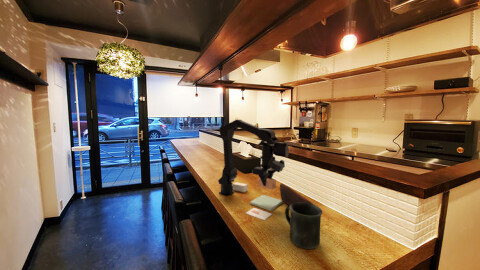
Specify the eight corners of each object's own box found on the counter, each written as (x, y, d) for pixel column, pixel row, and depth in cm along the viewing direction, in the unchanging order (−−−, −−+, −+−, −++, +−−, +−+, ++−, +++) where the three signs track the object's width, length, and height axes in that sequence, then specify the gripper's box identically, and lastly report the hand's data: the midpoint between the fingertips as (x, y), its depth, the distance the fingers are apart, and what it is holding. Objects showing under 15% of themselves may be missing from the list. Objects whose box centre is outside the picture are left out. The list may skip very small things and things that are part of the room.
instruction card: (245, 213, 91) (245, 212, 91) (253, 208, 97) (254, 207, 97) (264, 220, 85) (264, 219, 85) (272, 214, 91) (272, 213, 91)
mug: (307, 255, 64) (309, 219, 63) (275, 233, 76) (276, 203, 75) (327, 243, 70) (329, 210, 69) (294, 225, 82) (295, 196, 81)
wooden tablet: (318, 224, 83) (319, 201, 82) (313, 225, 82) (314, 202, 81) (282, 199, 107) (282, 181, 106) (278, 200, 107) (279, 182, 106)
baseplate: (250, 204, 101) (250, 201, 101) (262, 196, 111) (262, 194, 111) (270, 211, 94) (271, 208, 94) (282, 202, 103) (282, 200, 103)
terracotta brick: (258, 186, 102) (258, 178, 102) (261, 184, 106) (262, 176, 105) (272, 189, 98) (272, 181, 97) (275, 187, 101) (275, 179, 100)
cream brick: (232, 190, 121) (232, 183, 120) (235, 188, 124) (236, 182, 124) (244, 192, 117) (244, 186, 117) (247, 190, 120) (247, 184, 120)
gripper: (272, 159, 88) (271, 194, 89) (290, 154, 102) (289, 183, 104) (251, 156, 95) (251, 188, 96) (271, 151, 109) (270, 179, 111)
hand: (266, 184), depth 101 cm, fingers closed on terracotta brick, 4 cm apart
